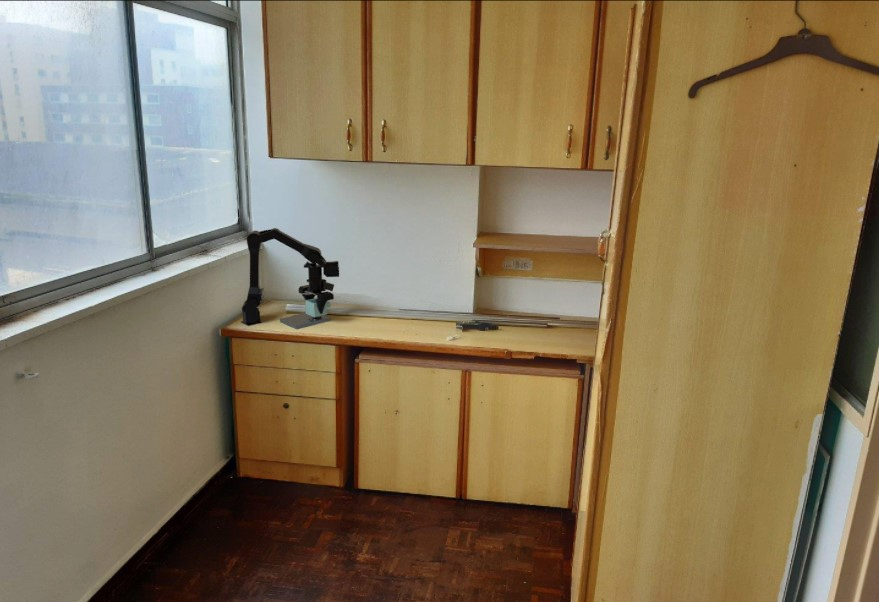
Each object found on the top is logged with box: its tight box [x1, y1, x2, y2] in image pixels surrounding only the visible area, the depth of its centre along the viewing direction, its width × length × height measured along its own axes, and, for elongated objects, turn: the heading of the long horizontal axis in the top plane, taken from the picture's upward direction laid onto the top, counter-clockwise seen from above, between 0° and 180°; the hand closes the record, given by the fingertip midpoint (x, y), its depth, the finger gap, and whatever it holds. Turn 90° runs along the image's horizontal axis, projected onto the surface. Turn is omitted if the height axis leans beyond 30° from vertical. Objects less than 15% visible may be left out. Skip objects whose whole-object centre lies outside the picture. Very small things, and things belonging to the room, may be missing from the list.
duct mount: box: [279, 312, 331, 330], centre depth 279 cm, size 17×13×6 cm
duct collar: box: [305, 297, 332, 317], centre depth 281 cm, size 7×10×6 cm
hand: (316, 311), depth 280 cm, fingers closed on duct collar, 6 cm apart
